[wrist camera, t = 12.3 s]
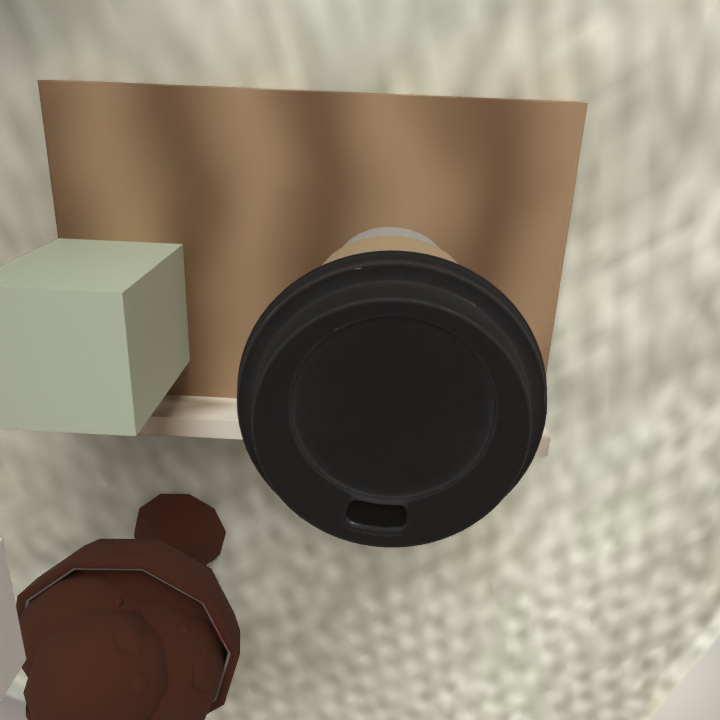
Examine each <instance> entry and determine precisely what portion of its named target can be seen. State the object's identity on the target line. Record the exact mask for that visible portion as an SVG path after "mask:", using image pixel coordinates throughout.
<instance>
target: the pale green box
mask: <svg viewBox="0 0 720 720" xmlns="http://www.w3.org/2000/svg"><path fill="white" fill-rule="evenodd" d="M189 361H190V353H189V337H188V320H187V304H186V288H185V271H184V255H183V244H170V243H149V242H127V241H106V240H85V239H64V238H58V239H56V240H54V241H52V242H50V243H48V244H45V245H43V246H41V247H39V248H37V249H35V250H33V251H31V252H29V253H27V254H25V255H23V256H21V257H19V258H17V259H15V260H12V261H10V262H8V263H6V264H4V265H2V266H0V429H12V430H31V431H49V432H68V433H86V434H104V435H123V436H137V434H138V433H139V432H140V430H141V429H142V427H143V426H144V424H145V423H146V422H147V420H148V419H149V417H150V416H151V415H152V413H153V412H154V410H155V409H156V408H157V406H158V405H159V403H160V402H161V401H162V399H163V398H164V396H165V395H166V394H167V392H168V391H169V389H170V388H171V386H172V385H173V384H174V382H175V381H176V379H177V378H178V377H179V375H180V374H181V372H182V371H183V370H184V368H185V367H186V365H187V364H188V363H189Z"/></svg>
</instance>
